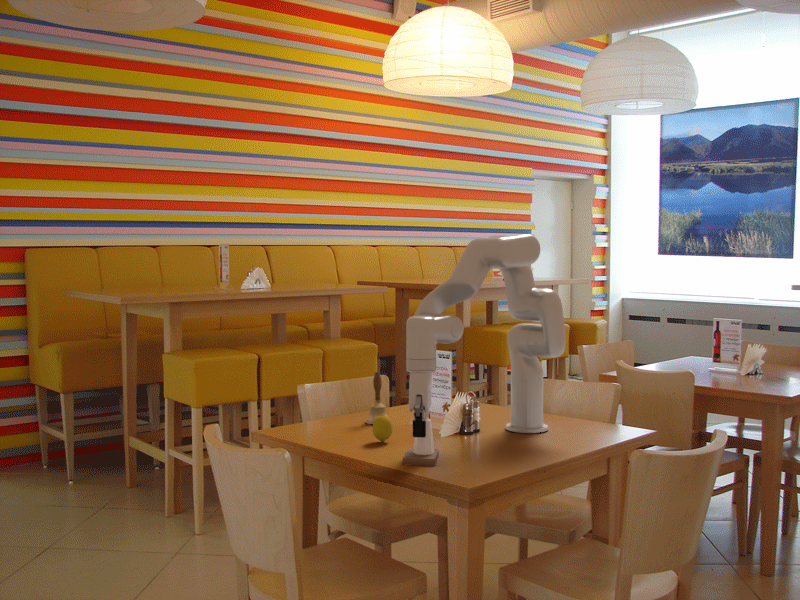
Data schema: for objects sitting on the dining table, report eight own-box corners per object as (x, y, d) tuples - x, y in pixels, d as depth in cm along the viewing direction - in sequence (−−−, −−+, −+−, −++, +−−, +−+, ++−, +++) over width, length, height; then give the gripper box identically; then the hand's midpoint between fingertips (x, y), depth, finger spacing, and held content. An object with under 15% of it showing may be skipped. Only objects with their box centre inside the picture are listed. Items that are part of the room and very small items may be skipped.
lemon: (385, 445, 209) (385, 416, 208) (368, 443, 212) (368, 414, 211) (396, 441, 213) (396, 413, 213) (379, 439, 216) (379, 411, 216)
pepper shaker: (408, 453, 193) (408, 409, 193) (423, 449, 197) (423, 407, 197) (424, 456, 190) (424, 412, 189) (439, 452, 193) (438, 409, 193)
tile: (407, 448, 198) (402, 457, 188) (438, 449, 197) (435, 458, 187) (407, 455, 198) (402, 465, 188) (438, 456, 197) (435, 466, 187)
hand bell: (391, 425, 236) (390, 373, 235) (364, 425, 236) (363, 373, 235) (391, 419, 244) (391, 370, 244) (365, 419, 244) (365, 370, 244)
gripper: (411, 360, 201) (411, 425, 202) (401, 369, 184) (402, 440, 185) (439, 361, 200) (439, 426, 201) (432, 370, 183) (432, 441, 184)
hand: (421, 432), depth 193 cm, fingers open, 9 cm apart
